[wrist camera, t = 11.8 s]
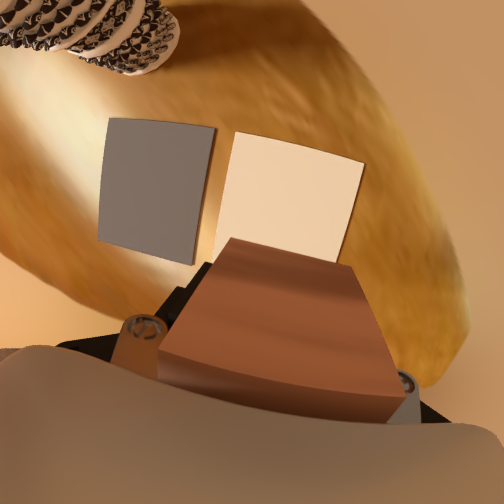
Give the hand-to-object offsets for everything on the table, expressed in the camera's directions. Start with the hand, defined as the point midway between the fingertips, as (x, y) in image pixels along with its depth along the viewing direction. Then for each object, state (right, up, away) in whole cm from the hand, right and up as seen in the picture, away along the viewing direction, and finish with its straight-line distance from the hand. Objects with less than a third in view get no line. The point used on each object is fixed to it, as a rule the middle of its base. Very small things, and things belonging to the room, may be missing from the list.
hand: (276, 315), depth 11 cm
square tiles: (-5, +7, +16) cm, 18 cm away
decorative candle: (-12, +25, +11) cm, 29 cm away
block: (0, 0, +1) cm, 1 cm away
